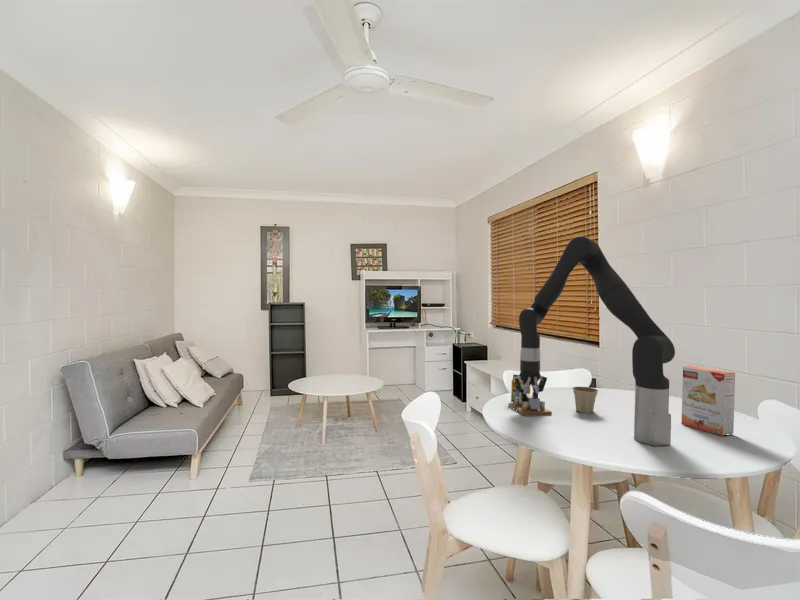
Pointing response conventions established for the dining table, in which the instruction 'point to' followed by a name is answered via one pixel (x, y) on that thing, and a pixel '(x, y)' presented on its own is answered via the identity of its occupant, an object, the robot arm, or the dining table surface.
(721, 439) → the dining table surface
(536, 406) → the translucent grey block
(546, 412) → the rack
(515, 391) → the crayon box
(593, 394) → the flower pot
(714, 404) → the cracker box
